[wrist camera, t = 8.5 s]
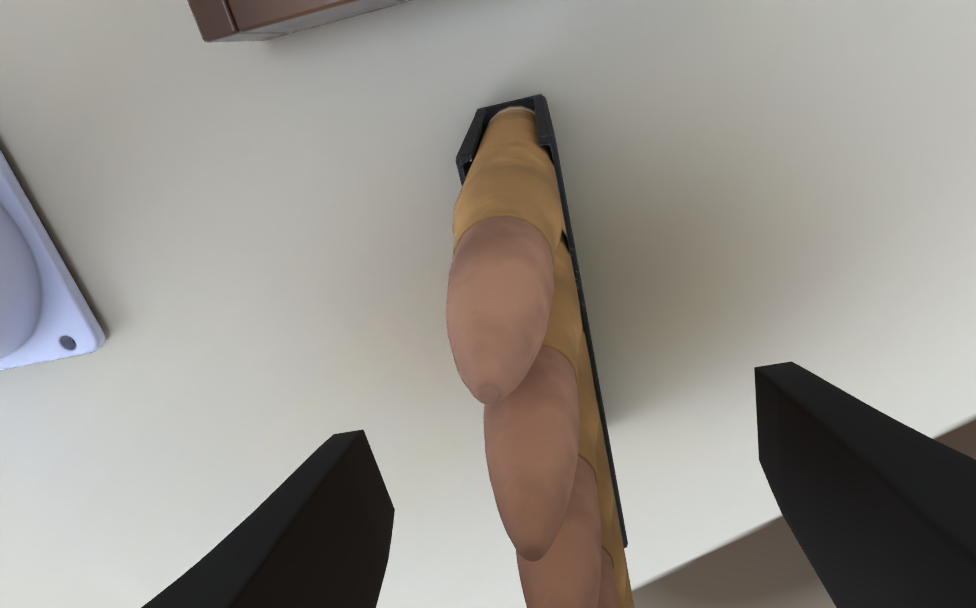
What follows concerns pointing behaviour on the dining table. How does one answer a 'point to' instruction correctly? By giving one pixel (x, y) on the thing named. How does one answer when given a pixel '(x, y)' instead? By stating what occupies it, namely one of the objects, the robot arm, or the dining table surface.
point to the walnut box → (272, 16)
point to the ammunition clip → (534, 361)
